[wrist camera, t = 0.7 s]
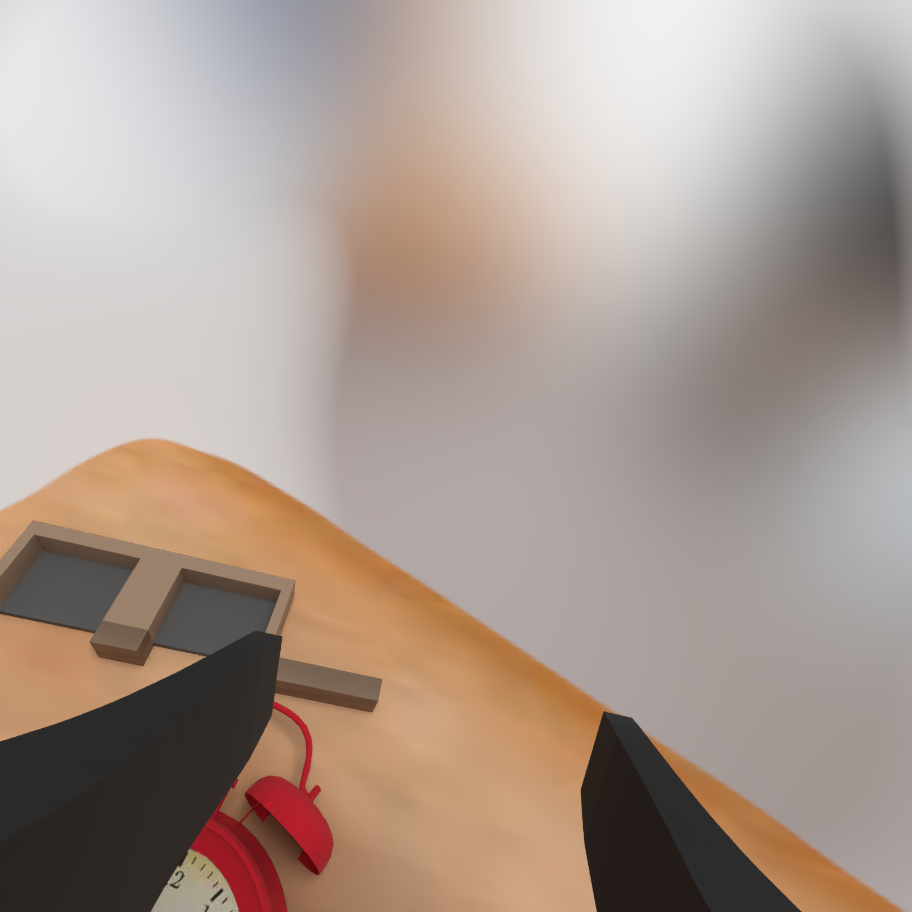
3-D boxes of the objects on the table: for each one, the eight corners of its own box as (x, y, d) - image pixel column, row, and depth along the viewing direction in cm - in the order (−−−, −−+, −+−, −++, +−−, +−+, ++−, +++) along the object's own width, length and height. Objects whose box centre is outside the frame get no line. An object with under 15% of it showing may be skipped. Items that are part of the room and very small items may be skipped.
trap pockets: (267, 668, 26) (268, 655, 25) (-12, 610, 24) (-28, 593, 23) (293, 596, 29) (295, 580, 27) (44, 539, 27) (33, 520, 26)
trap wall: (220, 1452, 13) (214, 1532, 12) (-801, 1424, 11) (-1011, 1522, 9) (376, 691, 26) (384, 674, 25) (-71, 598, 24) (-97, 572, 22)
